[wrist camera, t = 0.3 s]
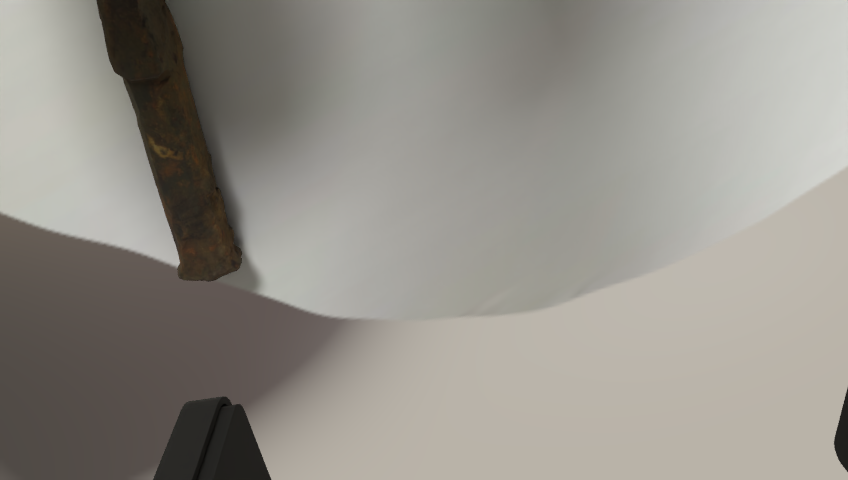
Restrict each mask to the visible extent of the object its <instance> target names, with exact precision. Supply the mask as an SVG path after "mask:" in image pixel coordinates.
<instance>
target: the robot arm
mask: <svg viewBox="0 0 848 480" xmlns="http://www.w3.org/2000/svg"><path fill="white" fill-rule="evenodd" d="M834 445H835V451H836V454H837V456H838V459H839V461H840V462H841V464H842V465H843V467H844V468H845V469H846V470H847V472H848V389H847V393H846V396H845V400H844V404H843V408H842V412H841V416H840V420H839V423H838V427H837V431H836V435H835V441H834ZM153 480H271V478H270V475H269V473H268V470H267V468H266V465H265V462H264V460H263V457H262V455H261V452H260V449H259V447H258V444H257V442H256V439H255V437H254V434H253V431H252V429H251V426H250V424H249V421H248V418H247V416H246V413H245V411H244V409H243V407H242V406H241V405H240V404H236V405H232V404H231V402H230V400H229V399H228V398H227V397H216V398H210V399H203V400H196V401H189V402H187V403H186V404H185V405H184V406H183V408H182V410H181V412H180V415H179V417H178V420H177V422H176V425H175V427H174V429H173V432H172V434H171V437H170V439H169V442H168V444H167V447H166V449H165V452H164V454H163V456H162V459H161V461H160V464H159V467H158V469H157V471H156V474H155V476H154V479H153Z"/></svg>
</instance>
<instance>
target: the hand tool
mask: <svg viewBox="0 0 848 480" xmlns="http://www.w3.org/2000/svg"><path fill="white" fill-rule="evenodd" d="M97 5H98V10H99V15H100V19H101V21H102V26H103V30H104V36H105V42H106V47H107V52H108V56H109V60H110V63H111V65H112V67H113V70H114V72H115V73H117V74H118V75H120V76H122V77H123V80H124V84H125V86H126V89H127V91H128V94H129V97H130V99H131V102H132V105H133V108H134V110H135V113H136V116H137V122H138V127H139V130H140V133H141V136H142V139H143V142H144V146H145V150H146V153H147V157H148V160H149V164H150V167H151V170H152V173H153V176H154V180H155V183H156V186H157V188H158V192H159V195H160V199H161V202H162V205H163V208H164V211H165V215H166V218H167V221H168V223H169V226H170V229H171V232H172V235H173V238H174V241H175V244H176V247H177V251H178V254H179V259H180V265H179V266H178V269H177V270H178V276H179V278H180V279H183V280H191V281H198V280H201V281H203V280H205V281H213V280H216V279H218V278H220V277H222V276H224V275H227V274H229V273H231V272H234V271H237V270H238V269H239V268H240V265H241V263H242V258H241V255H242V252H241V249H240V248H239V247H238V246H236V245H235V244H234V243H233V241H234V231H233V228H232V227H230V226H229V225H228V222H227V217H226V213H225V206H224V201H223V199H222V196H221V191H220V189H219V188H218V187H217V184H216V180H215V176H214V173H213V168H212V161H211V155H210V154H209V152H208V149H207V146H206V142H205V139H204V136H203V132H202V129H201V125H200V122H199V118H198V115H197V111H196V107H195V103H194V100H193V96H192V93H191V90H190V86H189V81H188V78H187V74H186V71H185V67H184V61H183V53H182V52H183V46H182V42H181V39H180V36H179V33H178V30H177V28H176V25H175V23H174V20H173V18H172V15H171V13H170V10H169V8H168V7H167V5H166V3H165V1H164V0H97Z"/></svg>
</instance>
